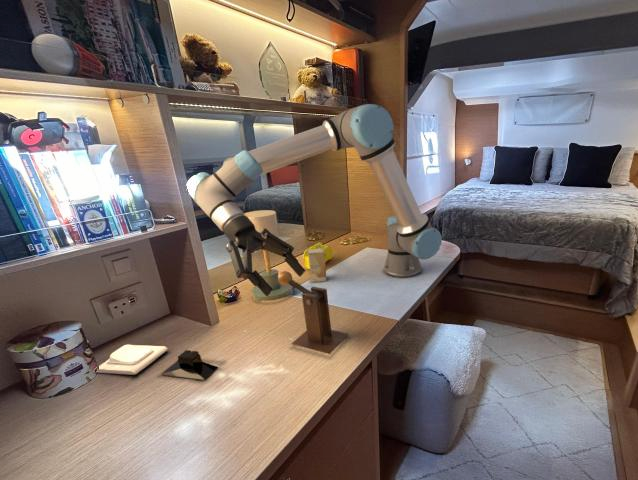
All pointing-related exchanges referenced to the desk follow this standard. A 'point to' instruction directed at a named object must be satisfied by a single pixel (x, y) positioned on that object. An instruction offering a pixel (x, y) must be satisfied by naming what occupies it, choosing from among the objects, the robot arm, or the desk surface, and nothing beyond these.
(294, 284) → the lever with ball knob
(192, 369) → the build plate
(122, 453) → the desk surface
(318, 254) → the cosmetic box
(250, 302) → the desk surface
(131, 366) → the light switch
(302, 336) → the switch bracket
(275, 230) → the lamp
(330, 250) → the yellow toy chassis
